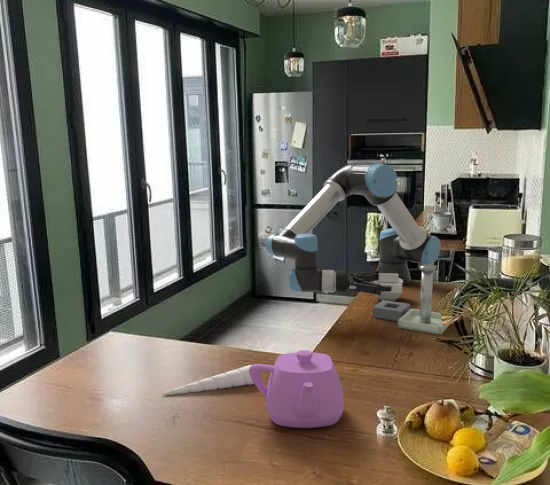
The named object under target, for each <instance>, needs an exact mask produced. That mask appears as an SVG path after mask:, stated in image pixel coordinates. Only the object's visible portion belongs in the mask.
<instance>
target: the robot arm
mask: <svg viewBox="0 0 550 485" xmlns="http://www.w3.org/2000/svg"><path fill="white" fill-rule="evenodd" d="M397 179H398V175H397V172H396V171H395V168H393V167H391V166H390V165H388V164H385V163H378V162H376V163H369V162H368V163H365V162H362V163H361V162H353V163H349V164H345V166H343V167H341V168H339V169H338V170H337V171H335V172H334V173H333V174H332V175H330V177H328V178H327V180H326V181H325V182H324V183H323V187H322V189H320V190H319V192H318V193H317V194H316V195H315V196H314V197H312V199H311V200H310V201H309V202H308V203H307V204H306V205H305V206H304V208H302V209H301V210H300V211H299V213H298V214H297V215H296V216H295V217H294V218H293V219H292V220H291V221H290V222H289V223H288V224H287V225H286V226H285V227H284V228H283V229H282V231H280V233H273V234H271V235H269V236H268V237H267V238H266V241H265V249H266V252H268V253H269V254H270V255H273V256H275V257H278V258H282V259H283V258H284V259H288V260H290V261H295V262H294V268H293V269H290V270H289V272H288V287H289V290H290V291H291V292H298V293H325V294H326V295H328V294H329V293H335V292H336V293H337V294H339V293H340V294H347V292H348V288H349V291H350V292H360V293H367V294H372V295H373V294H377V295H381V292H383V293H403V286H405V285H409V284H410V283H411V274H410V270H409V268H408V262H411V263H418V264H420V265H422V264H430V265H433V263H435V262H436V261H437V259H438V257H439V255H440V251H441V241H440V239H439V238H438V237H437V236H435V235H430V234H429V233H428V231H427V230H426V229H425V227H424V226H422V225H421V226H420V225H418V223H417V221H416V220H415V219H414V217H413V215H412V214H411V213H410V211H409V209H407V207H406V205H405V204H404V202H403V201H402V199H401V197H399V194H398V193H397V191H398V190H397V189H398V184H399V181H398V180H397ZM350 195H357V196H358V195H361V196H363V197H365V198H366V200H367V201H368V203H369V204H371V205H372V206H377V208H378V209H379V211H380V212H381V213H382V215H383V217H384V218H385V220H387V222H388V224H389V226H391V228H385V229H383V230H382V229H381V231H380V234H379V240H378V241H379V247H378V248H379V255H378V257H379V258H378V259H379V260H378V261H379V262H378V265H377V269H376V270H375V271H369V272H368V271H367V272H357V273H355V272H353V273H352V272H350V273H349V275H348V270H345V269H344V270H341V269H340V270H336V271H335V270H334V269H333V270H332V269H318V259H319V257H318V251H319V250H318V249H319V246H318V237H317V236H316V234H313V233H312V234H311V233H310V232H311V231H312V230H313V229H314V228H315V227H316V226H317V225H318V224H319V223H320V222H321V221H322V219H323V218H325V217H326V215H327V214H328V213H329V212H330V211H331V210H332V209H333V208H334V207H335V205H337V203H338V202H341V201H344V200H345V199H346V198H347V197H349V196H350ZM398 278H400V279H402V280H403V283H402V284H381V285H380V284H375V283H371V282H372V281H374V282H375V281H377V280H379V281H382V282H398Z"/></svg>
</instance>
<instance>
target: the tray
mask: <svg viewBox="0 0 550 485" xmlns="http://www.w3.org/2000/svg"><path fill="white" fill-rule="evenodd" d="M441 313H442V312H435V311H431V323H430V324H422V323H420V322H419V320H420V309H417V308H416V309H415V308H410V310H409V311H408V312H407V313H406V314H405V315H403V316H402V317H401V318H400V319H399V320H398V321H397V328H399V329H405V330H409V331H410V330H411V331H416V332H422V333H427V334H433V335H438V336H442V335H443V334H444V332H446V330H447V328H449V326H450V325H451V324H452V322H451V323H450V324H448V325H446V326H444V325H442V324H441V323H442V322H443V321H442V320H441V318H440V317H441Z"/></svg>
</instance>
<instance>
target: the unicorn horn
mask: <svg viewBox="0 0 550 485" xmlns="http://www.w3.org/2000/svg"><path fill="white" fill-rule="evenodd" d="M252 365H253V364H249V365H245V366H241V367H239V368H236V369H233V370H229V371H225V372H223V373H219V374H216V375H213V376H209V377H206V378H203V379H200V380H196V381H194V382H191V383H188V384H184V385H182V386H178V387H175V388H173V389H170V390H168V391H165V392H163V393H162V394H161V395H162V396H171V395H172V396H174V395H183V394H188V393H199V392H204V391H212V390H218V389H219V390H221V389H222V390H223V389H227V388H229V389H230V388H232V387H234V388H235V387H240V386H246V385H247V386H250V385H255V384H254V382H253V381H252V379H251V377H250V374H249V368H250V366H252Z"/></svg>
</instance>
